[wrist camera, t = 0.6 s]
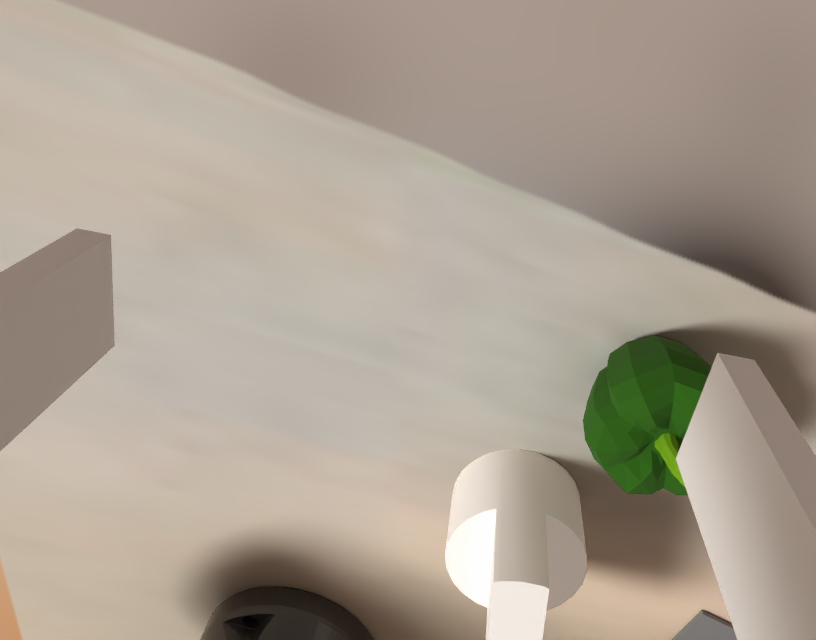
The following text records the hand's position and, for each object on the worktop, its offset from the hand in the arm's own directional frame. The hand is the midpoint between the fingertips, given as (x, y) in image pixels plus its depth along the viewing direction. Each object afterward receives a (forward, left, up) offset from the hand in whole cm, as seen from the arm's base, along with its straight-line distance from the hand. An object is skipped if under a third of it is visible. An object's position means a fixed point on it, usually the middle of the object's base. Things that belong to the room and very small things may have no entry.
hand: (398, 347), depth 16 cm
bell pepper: (-9, -17, -28) cm, 34 cm away
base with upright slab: (-22, -15, -28) cm, 39 cm away
